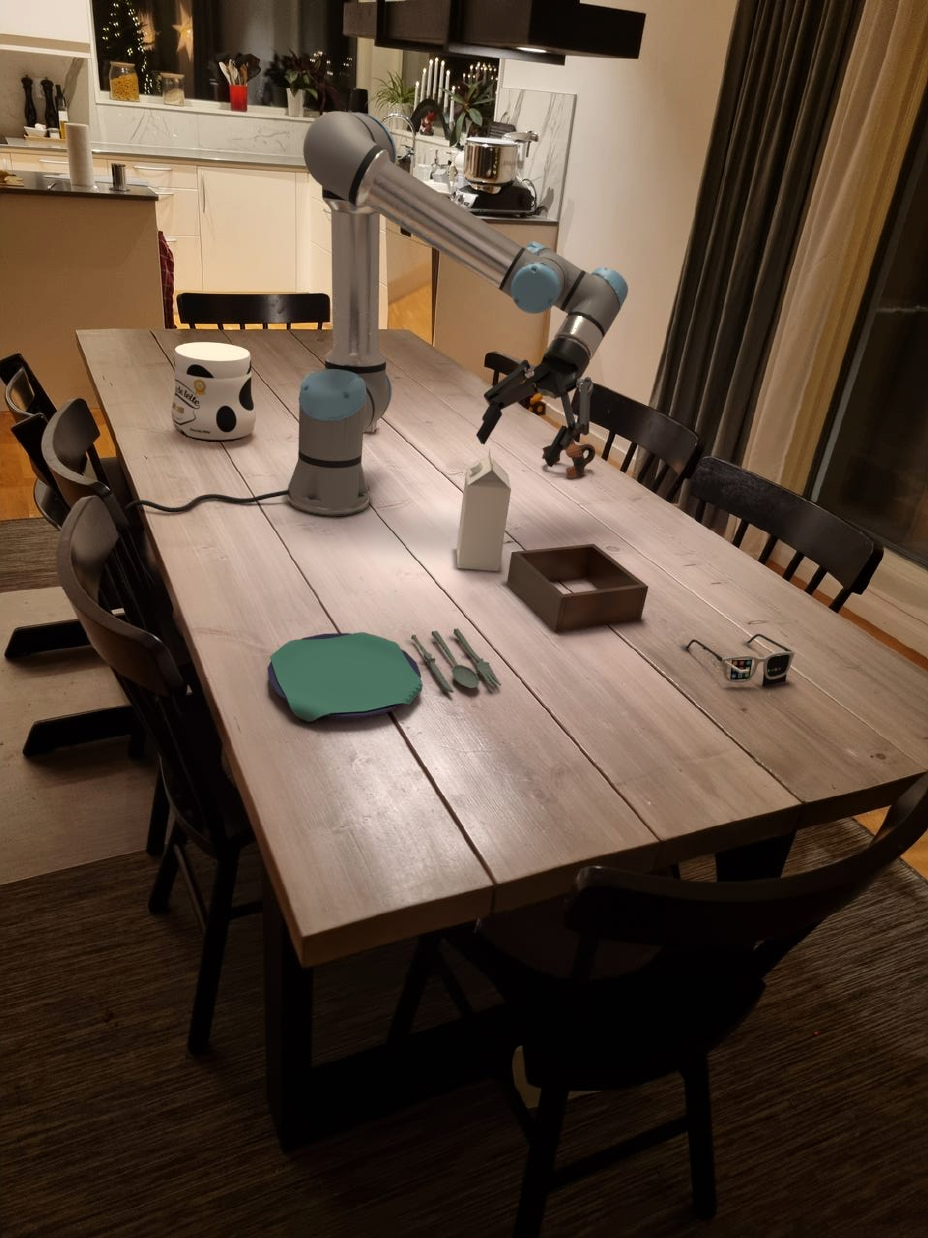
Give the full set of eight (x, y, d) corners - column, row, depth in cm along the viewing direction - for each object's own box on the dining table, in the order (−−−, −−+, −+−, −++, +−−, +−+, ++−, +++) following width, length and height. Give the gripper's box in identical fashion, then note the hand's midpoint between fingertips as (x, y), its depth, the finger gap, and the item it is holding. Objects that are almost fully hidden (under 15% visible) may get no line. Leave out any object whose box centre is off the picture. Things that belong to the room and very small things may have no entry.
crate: (554, 632, 138) (561, 597, 135) (506, 584, 151) (511, 551, 148) (640, 619, 145) (648, 586, 142) (587, 575, 157) (594, 543, 154)
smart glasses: (734, 700, 126) (739, 667, 125) (681, 662, 139) (684, 631, 138) (807, 692, 130) (813, 660, 128) (749, 656, 143) (753, 626, 141)
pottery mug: (558, 482, 197) (548, 445, 196) (542, 486, 206) (532, 450, 205) (607, 467, 200) (597, 430, 199) (588, 471, 209) (579, 436, 208)
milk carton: (496, 554, 160) (511, 450, 151) (499, 572, 154) (514, 465, 145) (456, 550, 160) (468, 446, 151) (457, 568, 154) (470, 461, 144)
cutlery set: (252, 653, 124) (252, 638, 123) (455, 630, 135) (457, 616, 134) (287, 739, 108) (287, 724, 107) (513, 705, 120) (516, 690, 119)
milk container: (156, 439, 191) (152, 352, 182) (197, 417, 206) (194, 336, 197) (233, 454, 188) (232, 367, 180) (268, 431, 203) (269, 349, 195)
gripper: (640, 380, 155) (582, 483, 151) (517, 347, 167) (460, 442, 163) (633, 353, 149) (572, 460, 145) (505, 320, 160) (446, 418, 156)
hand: (513, 451), depth 154 cm, fingers open, 13 cm apart
